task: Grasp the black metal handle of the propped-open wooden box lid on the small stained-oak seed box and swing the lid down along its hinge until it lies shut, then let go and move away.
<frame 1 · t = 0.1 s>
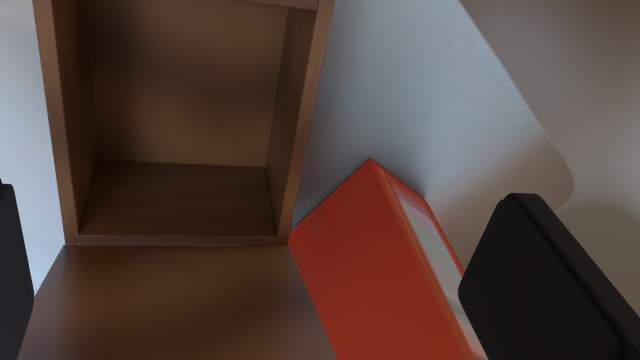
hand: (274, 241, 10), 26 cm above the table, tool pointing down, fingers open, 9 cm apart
file binder: (329, 240, 48), on the table
seed box: (188, 65, 35), on the table
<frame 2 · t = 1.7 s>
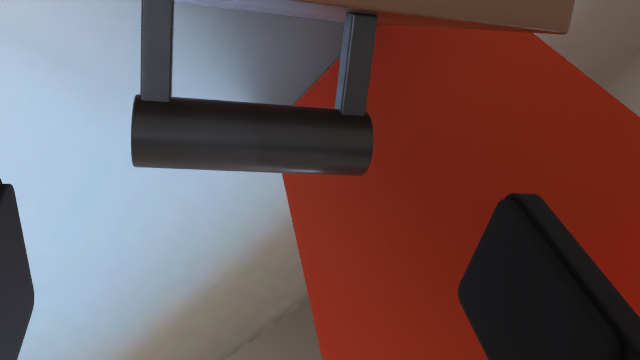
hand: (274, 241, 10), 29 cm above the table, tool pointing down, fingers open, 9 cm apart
file binder: (381, 76, 42), on the table
wooden box lid: (239, 56, 19), point 18 cm above the table, hinge at 70.0°
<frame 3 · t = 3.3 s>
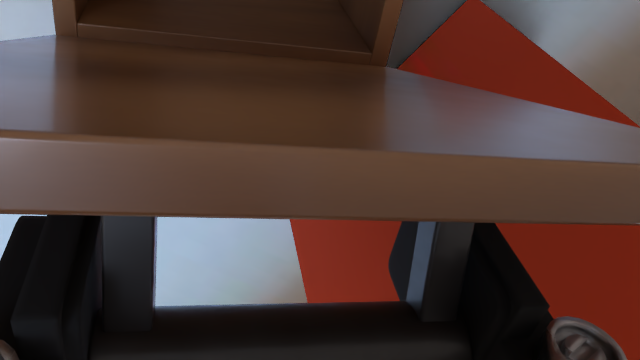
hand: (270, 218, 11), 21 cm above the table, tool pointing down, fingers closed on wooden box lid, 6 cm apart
file binder: (405, 125, 37), on the table
wooden box lid: (252, 167, 14), point 18 cm above the table, hinge at 70.0°, touching gripper
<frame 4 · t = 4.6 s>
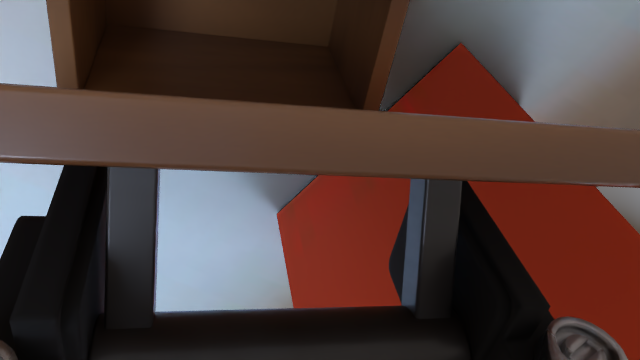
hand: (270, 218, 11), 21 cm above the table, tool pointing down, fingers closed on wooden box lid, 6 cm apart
file binder: (396, 160, 38), on the table
wooden box lid: (248, 210, 15), point 18 cm above the table, hinge at 57.8°, touching gripper
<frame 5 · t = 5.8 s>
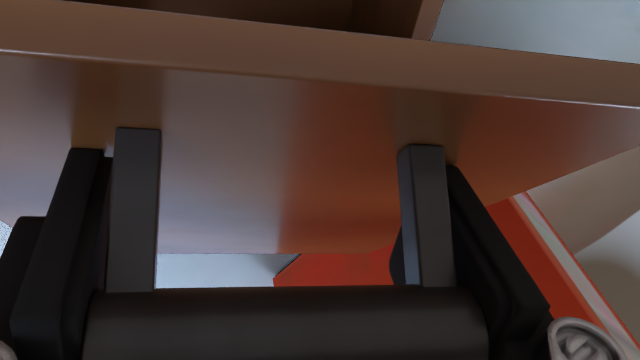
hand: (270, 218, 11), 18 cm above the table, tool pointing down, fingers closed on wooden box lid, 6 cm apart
file binder: (391, 227, 38), on the table
wooden box lid: (246, 275, 15), point 16 cm above the table, hinge at 36.0°, touching gripper
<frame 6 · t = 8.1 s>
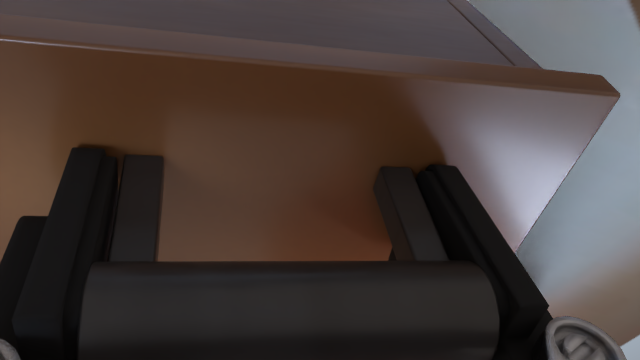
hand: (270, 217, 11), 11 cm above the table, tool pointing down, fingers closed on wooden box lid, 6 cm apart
seed box: (227, 141, 23), on the table
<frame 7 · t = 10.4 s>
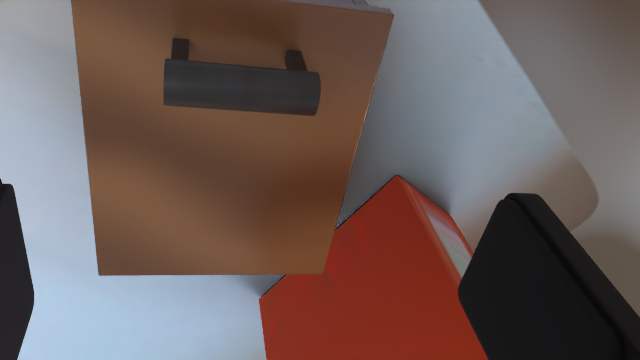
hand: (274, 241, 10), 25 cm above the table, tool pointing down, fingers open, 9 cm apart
file binder: (353, 256, 48), on the table
wooden box lid: (228, 183, 26), point 12 cm above the table, hinge at 3.0°
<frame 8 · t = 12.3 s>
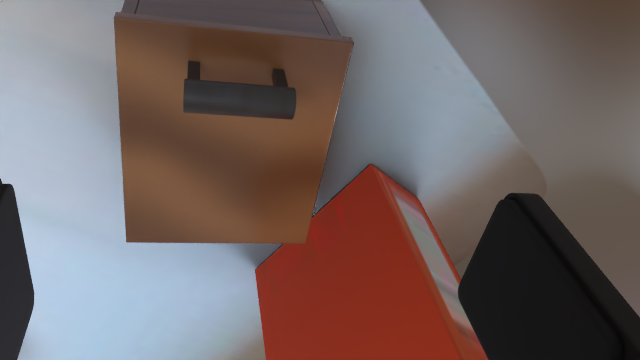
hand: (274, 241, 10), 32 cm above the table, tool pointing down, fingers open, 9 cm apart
file binder: (336, 233, 56), on the table
wooden box lid: (229, 169, 34), point 12 cm above the table, hinge at 3.0°
seed box: (223, 88, 43), on the table
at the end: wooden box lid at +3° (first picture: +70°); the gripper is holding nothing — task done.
